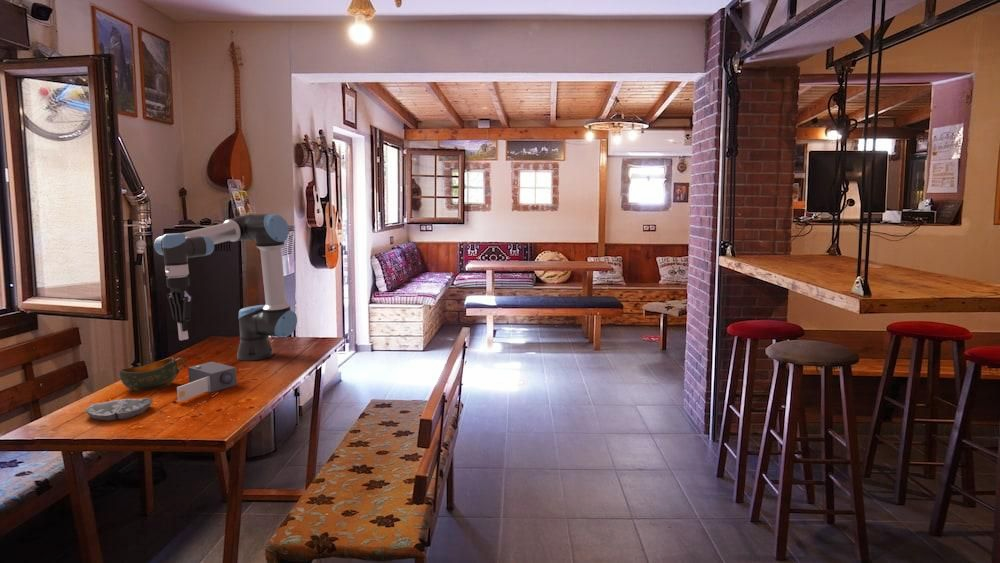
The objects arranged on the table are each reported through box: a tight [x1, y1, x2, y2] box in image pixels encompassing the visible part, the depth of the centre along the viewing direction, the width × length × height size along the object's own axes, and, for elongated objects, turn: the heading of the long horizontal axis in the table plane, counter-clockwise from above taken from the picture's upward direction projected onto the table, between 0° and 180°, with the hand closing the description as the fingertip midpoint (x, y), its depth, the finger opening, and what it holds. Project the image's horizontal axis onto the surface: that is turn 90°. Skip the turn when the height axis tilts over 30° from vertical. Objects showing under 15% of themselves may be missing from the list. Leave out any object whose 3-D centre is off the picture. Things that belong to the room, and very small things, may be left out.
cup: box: [119, 357, 185, 392], centre depth 241 cm, size 13×20×10 cm, turn 97°
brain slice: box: [84, 397, 153, 421], centre depth 212 cm, size 20×17×3 cm
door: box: [176, 376, 211, 403], centre depth 228 cm, size 2×14×6 cm, turn 160°
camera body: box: [187, 361, 238, 393], centre depth 243 cm, size 10×18×8 cm, turn 56°
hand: (183, 339), depth 231 cm, fingers closed
